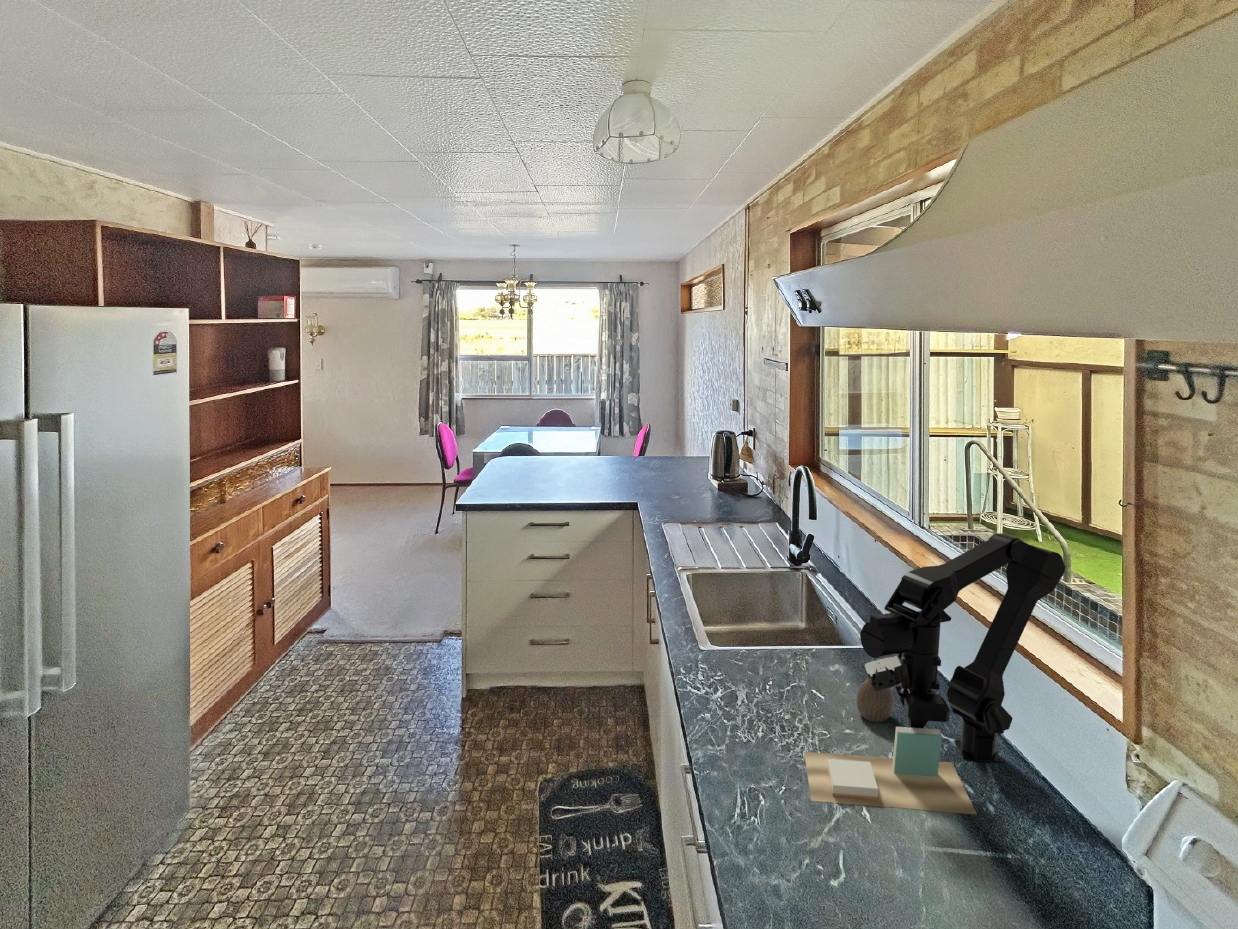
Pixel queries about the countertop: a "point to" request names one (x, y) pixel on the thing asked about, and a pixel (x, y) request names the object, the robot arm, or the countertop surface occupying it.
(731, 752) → the countertop surface
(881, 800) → the cork mat
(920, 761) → the teal tile
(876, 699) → the vase
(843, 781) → the terracotta tile
